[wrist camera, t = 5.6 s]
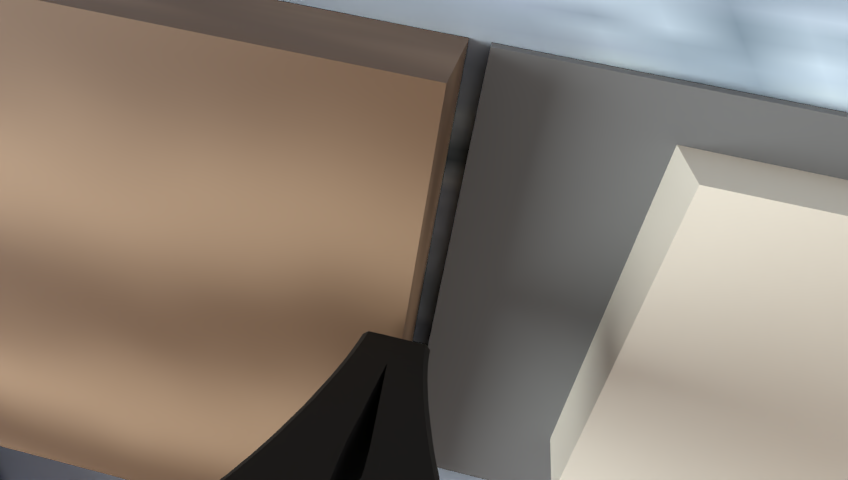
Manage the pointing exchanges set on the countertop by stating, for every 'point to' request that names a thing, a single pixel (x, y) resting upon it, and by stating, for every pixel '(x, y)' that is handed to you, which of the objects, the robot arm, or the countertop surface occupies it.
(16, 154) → the board
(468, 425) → the mat
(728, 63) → the countertop surface
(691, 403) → the block
